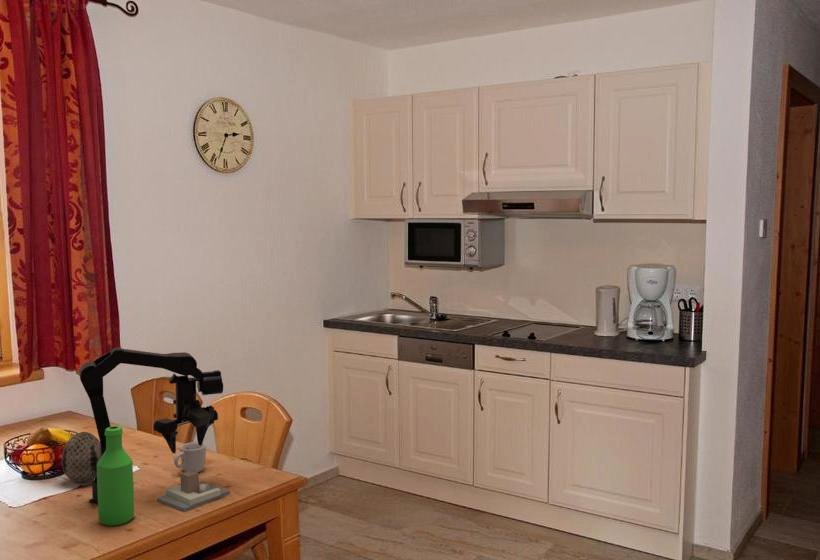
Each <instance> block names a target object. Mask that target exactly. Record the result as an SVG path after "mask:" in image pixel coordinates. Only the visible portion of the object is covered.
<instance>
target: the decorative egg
mask: <svg viewBox="0 0 820 560" xmlns="http://www.w3.org/2000/svg"><path fill="white" fill-rule="evenodd" d="M100 458H101V455H100V439H98V437H97V436H95V435H94V434H92V433H91V432H88V431H80V432H77V433H75V434H73V435H72V436H71V437H70V438H69V439H68V440H67V441H66V443H65V445H64V447H63V451H62V454H61V467H62V471H63V473H64V474H65V477H67V478H68V479H69V480H71V481H73V482H75V483H81V484H82V483H87V482H90V481H93V479H94V480H95V478H94V472H93V469H94V468H95V467H96V466H97V463H98V461H99V460H100Z"/></svg>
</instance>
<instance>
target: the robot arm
mask: <svg viewBox="0 0 820 560" xmlns="http://www.w3.org/2000/svg"><path fill="white" fill-rule="evenodd" d="M121 364H125V365H133V366H139V367H141V366H142V367H149V368H159V369H164V370H166V371H169V372H171V373H173V374H172V376H170V377H169V378H168V380H167V381H168V383H169V384H171V385H172V384H175V399H173V400H172V402H173V405H175V413H173V419H171V418H168V417H166V418H165V417H164V418H162V419H157V420H155V421H154V423H153V431H155V432H157V433H159V434H161V435H162V437H163V438H164V440H165V441H166V444H167V445H168V448H169V449H170V451H171V453H172V454H176V450H177V443H176V442H177V441H176V440H177V436H178V435H177V434H178V433H179V432H178V431H177V429H178V426H179V427H180V426H182V425H185V424H192V426H193V427H195V430H196V432H195V433H196V439H197V442H198V445H200V446H201V445H202V443H204V439H205V437H206V434H207V431H208V429H209V427H211V426H212V425H214V423H215V421H218V420H219V413H218V411H217V410H216V409H215V407H214V406H213V405H208V406H203V407H201V401H200V399H197V392H198V393H201V395H202V396H207V395H217V394H218V395H220V394H223V392H224V382H223V378H222V372H221V371H220V370H212V371H202V370H201V369H200V368H199V367H197V366H198V363H197V360H196V358H195V357H194V356H193V355H191V354H190V353H189V352H185V351H184V352H171V353H159V352H152V351H143V350H135V349H128V348H127V349H126V348H122V347H118V346H117V347H114V348H112V349H111V350H110V351H108V352H106V353H105V354H103V355H101V356H98V358H95V360H93V361H87V362H85V363H83V364H82V365H81V366H80V368H79V370H78V375H79V379H80V382H81V384H82V386H83V388H84V391H85V393H86V394H87V396H88V399H89V401H90V402H89V403H90V405H91V410H92V414H93V419H94V422H95V427H96V430H97V434H98V435H97V436H98V438H99V439H98V440H99V441H100V455H101V457H102V455H103V454H104V452H105V451H106V436H105V429H106V428H108V427H111V422H110V419H109V414H108V410H107V405H106V401H105V397H104V377H105V376H107V375H108V374H109V373H110V372H111V371H113V370H114V369H115V368H116V367H118V366H119V365H121ZM177 374H178V375H177ZM189 376H190V377H189ZM122 448H123V446H122ZM123 449H124V448H123ZM93 472H94V480H91V491H92V493H91V494H92V498H90V499H88V500H89V501H88V502H90V503H92V504H95V505H97V506H98V490H97V466H96V467H95V468H94V469H93Z"/></svg>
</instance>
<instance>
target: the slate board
mask: <svg viewBox="0 0 820 560" xmlns="http://www.w3.org/2000/svg"><path fill="white" fill-rule="evenodd" d="M206 484H208V485H210V490H212V489H215V488H218V489H221V495H219V496H216V497H213V498H210V499H207V500H205V501H202V502H199V503H196V504H193V505H188V504H186V503H184V502H181V501H179V500H177V499H174V498H172V497H170V496H168V495H166V494H165V495H162V496H160V497H157V498H156V502H157V503H158V504H162V505H165V506H167V507H170V508H172V509H175V510H178V511H181V512H183V513H186V512H188V511H190V510H194V509H196V508H197V507H201V506H203V505H206V504H208V503H211V502H213V501H216V500H218V499H220V498H223V497H226V496H228V495H231V490H230V489H226V488H223V487H220V486H217V485H214V484H211V483H207V482H205V481H201V482H200V481H199V494H200V493H203V492H206Z"/></svg>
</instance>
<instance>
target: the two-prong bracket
mask: <svg viewBox="0 0 820 560" xmlns="http://www.w3.org/2000/svg"><path fill="white" fill-rule="evenodd" d="M179 477H180V478H179V479H180V484H178V485H175V486H171V487H168V488H165V489H164V490H165V491H164V492H165V495H168V496H170V497H172V498H174V499H177V500H179V501H181V502H184V503H186V504H188V505H193V504H196V503H199V502H202V501H205V500H207V499H210V498H213V497H216V496H219V495H221V489H218V488H215V489H212V490H210V485H208V484H209V483H208V484H206V492H203V493H200V494H199V483H200V472H195V471H193V470H190V471H186V472H185V471H183V472H180V475H179Z"/></svg>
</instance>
